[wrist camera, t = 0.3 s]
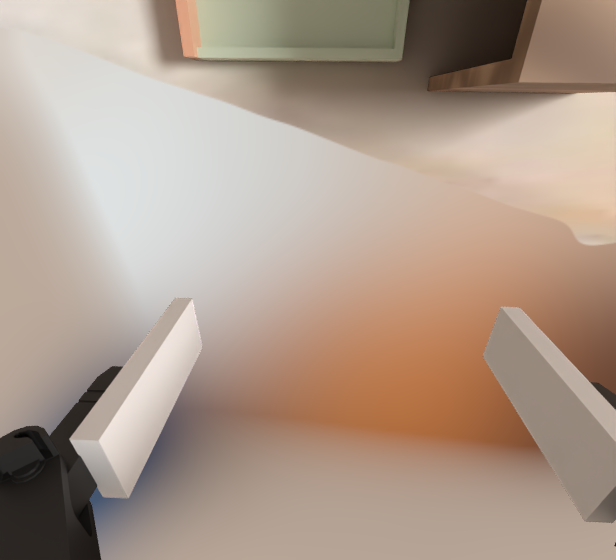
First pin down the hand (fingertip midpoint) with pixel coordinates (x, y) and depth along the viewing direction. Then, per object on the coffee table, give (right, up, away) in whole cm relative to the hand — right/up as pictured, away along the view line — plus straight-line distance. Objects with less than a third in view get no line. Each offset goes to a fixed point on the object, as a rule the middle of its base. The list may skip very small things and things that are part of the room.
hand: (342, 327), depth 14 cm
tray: (-3, +28, +15) cm, 32 cm away
